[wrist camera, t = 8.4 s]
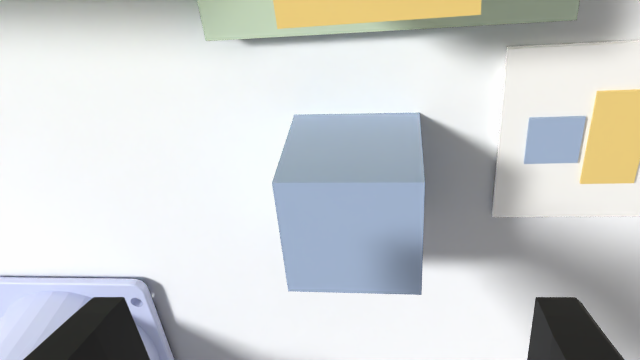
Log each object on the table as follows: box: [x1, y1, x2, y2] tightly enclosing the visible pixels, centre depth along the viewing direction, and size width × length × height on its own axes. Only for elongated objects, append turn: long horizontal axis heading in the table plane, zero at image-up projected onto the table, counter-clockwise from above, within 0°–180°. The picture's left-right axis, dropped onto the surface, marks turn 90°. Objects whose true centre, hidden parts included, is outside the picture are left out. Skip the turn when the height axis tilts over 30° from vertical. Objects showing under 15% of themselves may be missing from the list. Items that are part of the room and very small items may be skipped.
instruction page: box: [492, 40, 640, 217], centre depth 17 cm, size 6×5×1 cm
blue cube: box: [272, 113, 425, 295], centre depth 17 cm, size 4×4×4 cm
